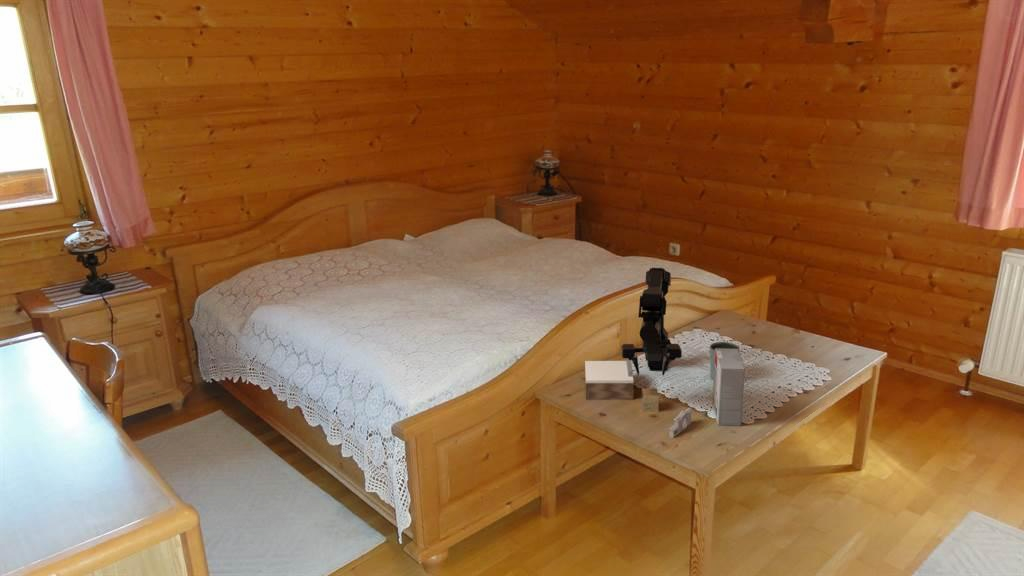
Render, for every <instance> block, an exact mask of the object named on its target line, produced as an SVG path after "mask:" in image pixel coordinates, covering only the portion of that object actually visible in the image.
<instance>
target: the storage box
mask: <svg viewBox="0 0 1024 576" xmlns="http://www.w3.org/2000/svg"><path fill="white" fill-rule="evenodd" d="M584 378H585V379H584V380H585V399H586V400H610V401H611V400H612V401H613V400H617V401H618V400H620V401H621V400H630V401H631V400H632V401H633V400H634V382H633V383H586V374H585V375H584Z"/></svg>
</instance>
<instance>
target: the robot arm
mask: <svg viewBox="0 0 1024 576" xmlns="http://www.w3.org/2000/svg"><path fill="white" fill-rule="evenodd" d="M644 282H645V285H646V286H647V288H645V289H644V290H642V295H640V296H639V306H638V318H642V323H641V326H640V329H639V337H640V339H641V341H642V343H641V344H642V345H641V347H635V344H633V343H623V344H622V345H621V346H620V347H621V357H622V359H628V360H631V363H632V364H633V365H634V368H635V371H636V374H637V376H640V368H639V362H638V361H639V360H638V359H639V358H638V355H641V354H643V355H644V356H645V360H646V363H647V367H648V369H649V371H661V373H662V374H661V375H662V376H664V375H665V374H666V372H667V371H668V367H669V365H670V363H671V362H672V361H675V360H676V359H681V358H682V357H683V355H682V353H683V351H682V348H681V345H680V344H679V343H672V342H671V339H670V338H669V332H668V331H667V329H666V328H665V316H666V314H667V312H666V311H667V300H666V297H665V296H667V294H668V293H669V287H671V286H672V285H671V284H672V274H671V272H669V271H667V270H666V268H663V267H650V268H649V270H647V271H646V272H645V281H644Z"/></svg>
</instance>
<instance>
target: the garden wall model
mask: <svg viewBox="0 0 1024 576" xmlns="http://www.w3.org/2000/svg"><path fill="white" fill-rule="evenodd" d="M692 411H693V409H692V407H686V409H685V410H681V411H680V412H679V413H678V414H677V416H676V417H675V418H673V421H674V424H673V425H672V426H671V427H669V428H668V430H669V437H670V438H672V437H673V438H675V437H676V436H677V435H678V434H680V433H681V432H683V431H684V430H686V428H687V427H688V426H689V425H691V424H692ZM675 435H676V436H675Z"/></svg>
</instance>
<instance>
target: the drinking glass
mask: <svg viewBox="0 0 1024 576" xmlns="http://www.w3.org/2000/svg"><path fill="white" fill-rule="evenodd" d="M715 348H726V349H738V350H739V351H740V347H739V345H737V344H735V343H731V342H728V341H726V342H725V341H717V342H714V343H711V344H710V345H709V354H710V355H709V359H710V364H709V365H710V368H709V369H710V370H709V371H710V372H709V373H710V379H711V380H712V381H714V360H715Z"/></svg>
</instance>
